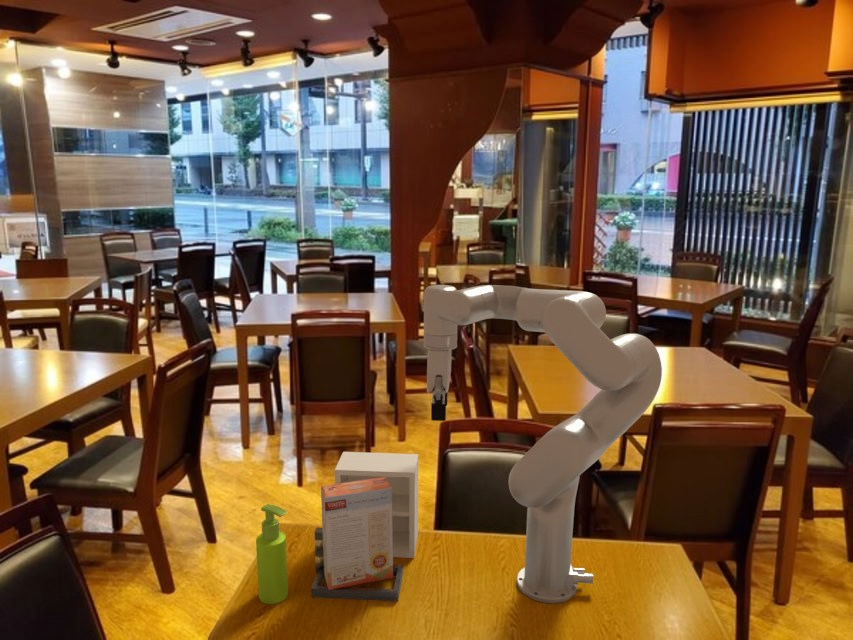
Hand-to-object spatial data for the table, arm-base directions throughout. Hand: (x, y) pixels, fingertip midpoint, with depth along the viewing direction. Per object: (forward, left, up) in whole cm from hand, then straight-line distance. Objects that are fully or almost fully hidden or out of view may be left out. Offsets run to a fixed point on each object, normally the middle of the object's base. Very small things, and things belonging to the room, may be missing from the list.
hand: (439, 412), depth 147 cm
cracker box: (+16, +19, -31) cm, 39 cm away
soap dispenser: (+33, +24, -32) cm, 52 cm away
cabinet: (+14, +3, -32) cm, 35 cm away
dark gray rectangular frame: (+16, +19, -32) cm, 41 cm away
